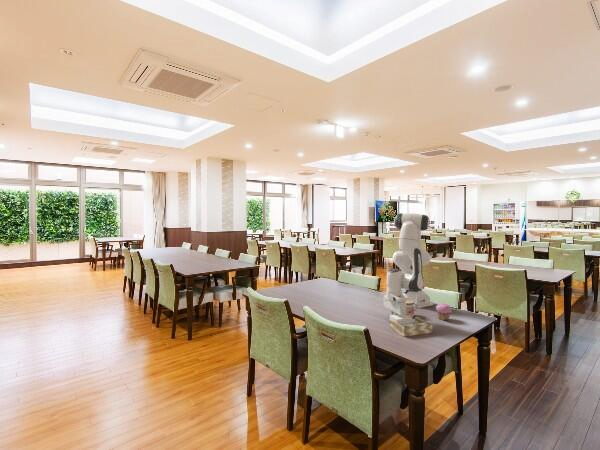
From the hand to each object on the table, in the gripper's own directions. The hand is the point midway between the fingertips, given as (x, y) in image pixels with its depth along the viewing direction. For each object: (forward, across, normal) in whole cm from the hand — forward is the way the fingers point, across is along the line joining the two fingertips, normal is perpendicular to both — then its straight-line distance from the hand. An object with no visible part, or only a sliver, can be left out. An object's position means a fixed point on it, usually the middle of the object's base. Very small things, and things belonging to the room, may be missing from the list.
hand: (394, 318), depth 193 cm
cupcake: (+2, +7, +30) cm, 31 cm away
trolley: (+2, +7, 0) cm, 7 cm away
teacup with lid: (+2, -7, +15) cm, 17 cm away
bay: (+2, +15, 0) cm, 16 cm away
